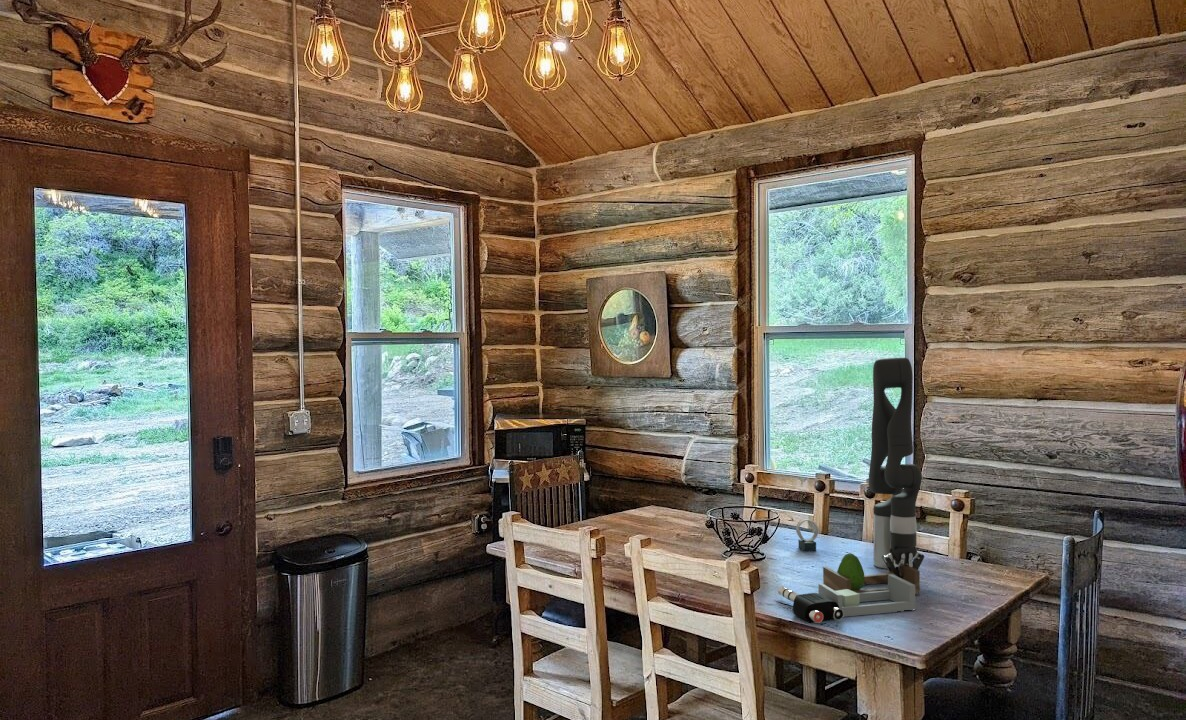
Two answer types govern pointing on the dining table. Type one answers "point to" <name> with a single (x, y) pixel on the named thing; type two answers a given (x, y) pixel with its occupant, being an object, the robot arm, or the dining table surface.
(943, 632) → the dining table surface
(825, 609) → the audio adapter
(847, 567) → the avocado
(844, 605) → the sage block
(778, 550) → the dining table surface
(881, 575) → the frame
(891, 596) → the grey open rectangular frame
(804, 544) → the silver ring on block
